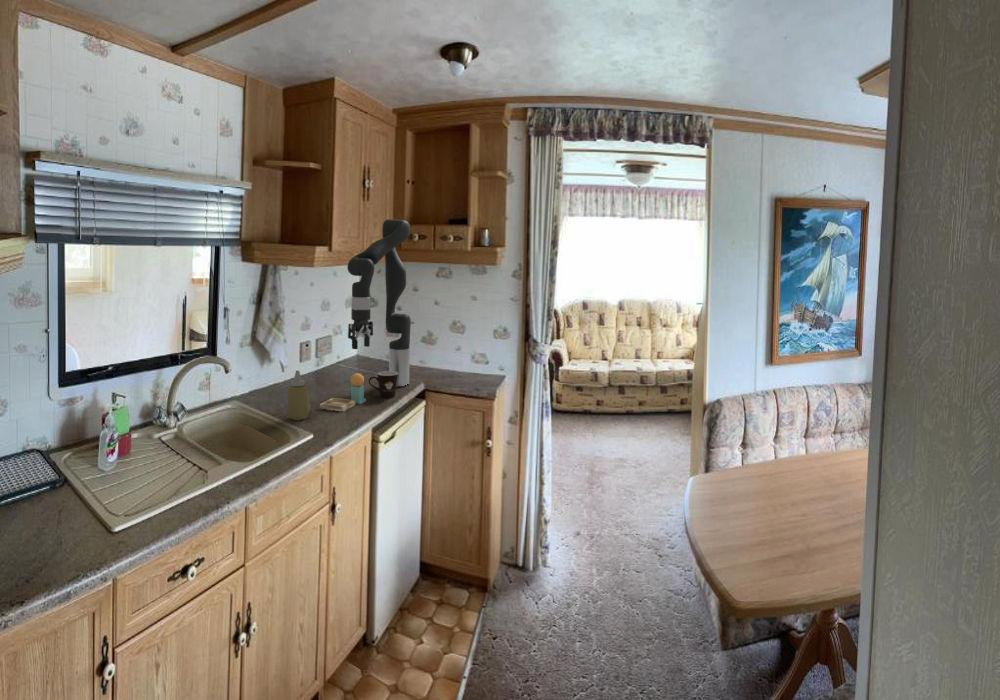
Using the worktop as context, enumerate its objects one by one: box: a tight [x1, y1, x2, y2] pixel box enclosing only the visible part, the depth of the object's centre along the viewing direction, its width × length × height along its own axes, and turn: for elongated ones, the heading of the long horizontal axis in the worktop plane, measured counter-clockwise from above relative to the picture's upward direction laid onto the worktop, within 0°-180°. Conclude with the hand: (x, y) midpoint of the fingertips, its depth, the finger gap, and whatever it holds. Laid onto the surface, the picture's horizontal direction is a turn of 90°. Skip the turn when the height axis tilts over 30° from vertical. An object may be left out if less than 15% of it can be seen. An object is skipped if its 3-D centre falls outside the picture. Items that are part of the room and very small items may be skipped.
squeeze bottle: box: [286, 370, 311, 421], centre depth 210 cm, size 8×8×18 cm
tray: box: [319, 397, 356, 412], centre depth 227 cm, size 10×10×2 cm
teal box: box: [350, 384, 367, 405], centre depth 234 cm, size 5×5×7 cm
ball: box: [350, 372, 365, 387], centre depth 233 cm, size 6×6×6 cm
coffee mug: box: [368, 370, 398, 399], centre depth 245 cm, size 12×9×10 cm
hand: (360, 347), depth 233 cm, fingers open, 8 cm apart
